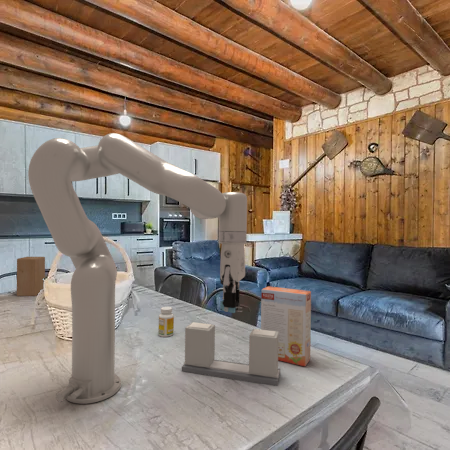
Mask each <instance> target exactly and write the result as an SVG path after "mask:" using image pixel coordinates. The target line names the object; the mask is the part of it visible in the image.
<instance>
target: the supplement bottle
mask: <svg viewBox="0 0 450 450" xmlns="http://www.w3.org/2000/svg"><path fill="white" fill-rule="evenodd" d="M174 319H175V316H174V313H173V307H171V306H163V307H161V308H160V313H159V315H158V336H159V337H162V338H168V337H172V336H173V335H174V332H175V331H174V330H175V328H174V326H175V324H174V323H175V322H174V321H175V320H174Z"/></svg>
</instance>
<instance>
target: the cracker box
mask: <svg viewBox="0 0 450 450" xmlns="http://www.w3.org/2000/svg"><path fill="white" fill-rule="evenodd" d="M260 295H261V299H260V302H261V303H260V305H261V307H260V330H269V331H276V332H279V337H278V361H281V362H283V363H288V364H292V365H296V366H299V367H300V366H301V367H306V366H307V364H309V362H310V360H311V339H312V338H311V328H312V324H311V323H312V322H311V321H312V319H311V317H312V291H310V290H303V289H295V288H288V287H287V288H286V287H276V286H270V285H269V286H266V287H264V288H262V289H261V294H260Z"/></svg>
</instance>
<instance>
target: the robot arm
mask: <svg viewBox="0 0 450 450" xmlns="http://www.w3.org/2000/svg"><path fill="white" fill-rule="evenodd" d="M27 173H28V175H27V176H28V183H29V187H30V190H31V192H32V194H33V195H32V196H33V198H34V200H35V202H36V204H37V207H38V208H39V210H40V212H41V215H42V218H43V220H44V222H45V224H46V226H47V228H48V231H49V233H50V235H51V237H52V240H53V241H54V244H55V247H56V248H57V250H58V251H59V252H60V253H61V254H63V255H64V256H66V257H69V258H70V259H71V262H72V264H73V266H74V268H75V270H74V271H73V273H72V276H71V279H70V298H71V315H72V316H71V328H72V329H71V335H72V336H71V339H72V340H71V341H72V342H71V377H70V378H68V384H66V386H65V387H64V388H63V389H62V390H60V391H58V393H56V395H55V398H56V401H58V402H60V403H61V402H63V401H64V400H66V401H69V402H70V403H74V404H84V405H86V404H87V405H88V404H94V403H98V402H101V401H105V400H106V399H108V398H111V397H112V396H114V395H115V394H117V393H118V392H119V390H120V389H121V387H122V380H121V378H120V376H118V375H116V374H115V369H116V367H115V361H116V360H115V356H116V353H115V349H116V346H115V345H116V283H117V282H116V280H117V275H118V269H117V266H116V263H115V261H114V258H113V256H112V254H111V251H110V249H109V247H108V246H107V243H106V240H105V239H104V236H103V233H102V232H101V230H100V228H99V227H98V226H97V224H96V223H95V222H94V221H92V220H90V219H89V218H88V216H87V214H86V212H85V210H84V208H83V206H82V204H81V201H80V199H79V196H78V194H77V192H76V191H75V188H74V186H73V182H82V181H87V180H93V179H94V180H95V179H98V178H104V177H108V176H109V177H110V176H114V175H118V174H120V175H122V176H123V177H125V178H127V179H129V180H131V181H133V182H134V183H136V184H138V185H139V186H140V187H142V188H144V189H146V190H147V191H149V192H152V193H154V194H156V195H161V196H165V197H168V198H169V199H170V198H171V199H172V200H175V201H177V202H179V203H180V204H183V206H186V207H188V208H189V210H190V212H191V213H192V215H193V216H194V217H196V218H198V219H200V220H211V219H213V220H214V219H217V218H218V220H219V221H218V244H221V251H220V265H219V266H220V267H219V268H220V269H219V276H220V277H219V279H220V278H221V280H222V281H224V282H223V285H224V299H223V300H224V307H228V308H235V307H236V301H237V302H239V303H240V281H242V279H243V278H245V277H246V253H245V245H246V244H247V232H248V231H247V230H248V229H247V228H248V227H247V225H248V224H247V223H248V222H247V221H248V196H247V195H246V194H245V193H244V192H238V191H237V192H236V191H232V192H231V191H228V192H223V193H222V192H221V191H220V190H219V189H218V188H216V187H215V186H214V185H211V184H210V183H208V182H207V181H205V180H204V179H202V178H200V177H198V176H197V175H195V174H193V173H191V172H190V171H187V170H185V169H182V168H180V167H178V166H177V165H175V164H172V163H170V162H168V161H167V160H164V159H163V158H161V157H159V156H158V155H156V154H154V153H153V152H151V151H150V150H148V149H146V148H145V147H143V146H141V145H140V144H138V143H136V142H134V141H133V140H131V139H130V138H128V137H126V136H125V135H123V134H120V133H116V132H111V133H107V134H106V135H103V137H101V139H100V140H99V142H98V144H97V145H93V146H86V147H79V146H78V145H77V144H76V143H75V142H73V141H72V140H69V139H67V138H63V137H61V138H60V137H55V138H52V139H49V140H46V141H45V142H43V143H42V144H40V145H39V147H37V149H36V150H35V151H34V152H33V154H32V157H31V158H30V161H29V165H28V171H27ZM230 278H232V279H233V281H230ZM223 279H224V280H223ZM221 280H220V281H221ZM235 280H236V282H238V284H237V285H236V292H235ZM230 283H232V285H231V284H230ZM223 285H222V286H223Z"/></svg>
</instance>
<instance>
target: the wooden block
mask: <svg viewBox="0 0 450 450" xmlns="http://www.w3.org/2000/svg"><path fill="white" fill-rule="evenodd" d="M43 278H45V279H46V257H45V256H24V257H20V258H17V259H16V297H37V296H38V295H37V294H38V293H39V292H40V290H41V289H43V280H42V279H43Z"/></svg>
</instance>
